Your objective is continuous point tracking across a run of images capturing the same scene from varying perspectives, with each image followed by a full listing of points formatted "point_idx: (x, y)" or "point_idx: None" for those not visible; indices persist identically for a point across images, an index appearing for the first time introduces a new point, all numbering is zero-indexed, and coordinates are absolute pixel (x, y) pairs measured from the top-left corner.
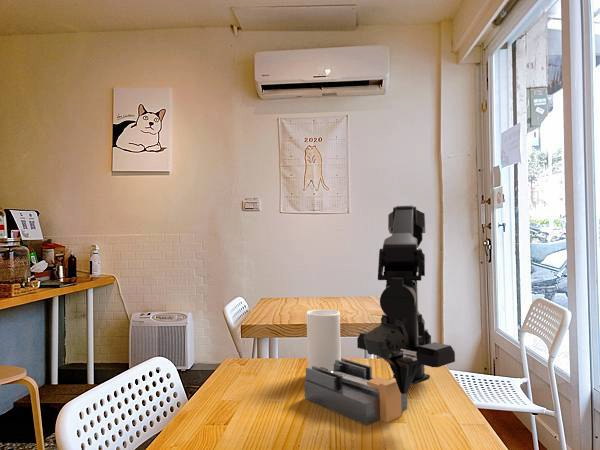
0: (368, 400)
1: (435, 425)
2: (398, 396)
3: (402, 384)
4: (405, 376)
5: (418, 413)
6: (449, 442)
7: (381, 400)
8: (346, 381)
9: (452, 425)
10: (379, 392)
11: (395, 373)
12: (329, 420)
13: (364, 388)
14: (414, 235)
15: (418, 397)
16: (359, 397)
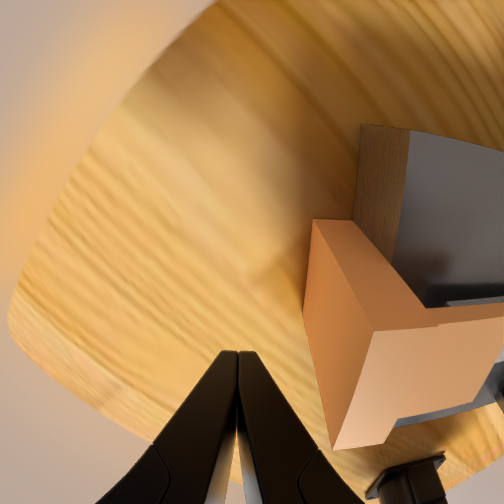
0: (431, 193)
1: (156, 333)
2: (320, 363)
3: (211, 397)
4: (138, 461)
5: None
6: (43, 255)
7: (375, 261)
8: None
9: (125, 364)
10: None
11: (293, 471)
12: (489, 75)
13: (502, 296)
14: None
15: None
16: (486, 196)
